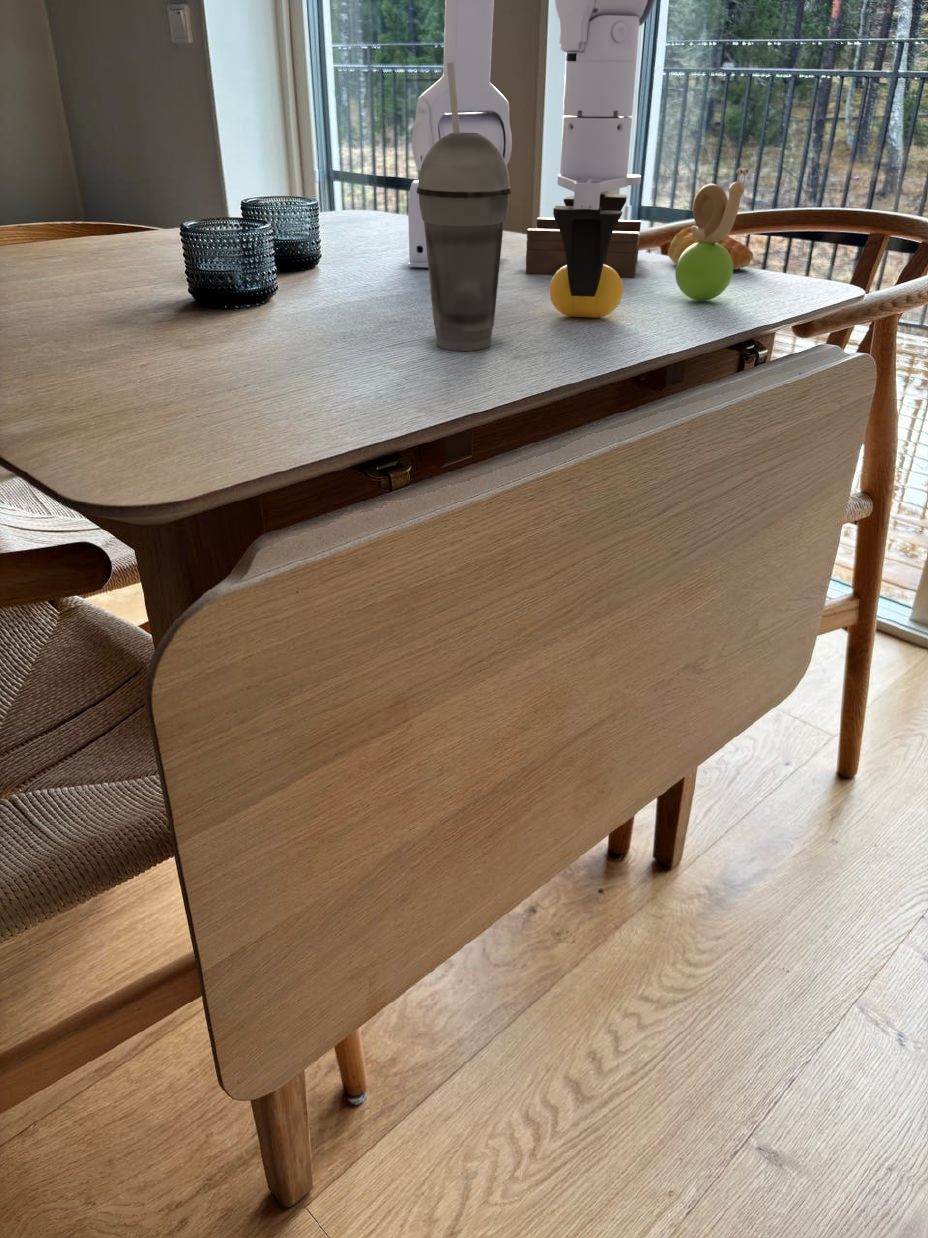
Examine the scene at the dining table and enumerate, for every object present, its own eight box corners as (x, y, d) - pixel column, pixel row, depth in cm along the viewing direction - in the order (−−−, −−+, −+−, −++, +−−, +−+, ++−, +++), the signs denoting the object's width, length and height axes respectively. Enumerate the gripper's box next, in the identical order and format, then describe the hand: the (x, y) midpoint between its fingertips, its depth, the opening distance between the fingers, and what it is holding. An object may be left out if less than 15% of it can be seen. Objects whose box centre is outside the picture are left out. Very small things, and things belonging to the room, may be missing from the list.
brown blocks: (525, 273, 105) (527, 229, 103) (536, 257, 113) (537, 217, 111) (634, 277, 103) (638, 233, 101) (637, 261, 111) (641, 220, 109)
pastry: (762, 267, 108) (768, 232, 106) (731, 276, 104) (736, 239, 102) (692, 257, 114) (696, 223, 112) (660, 265, 110) (663, 229, 108)
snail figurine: (703, 310, 89) (721, 169, 83) (661, 297, 94) (675, 163, 88) (747, 304, 91) (768, 167, 85) (703, 292, 96) (720, 161, 90)
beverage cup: (478, 359, 73) (481, 61, 63) (402, 347, 77) (393, 61, 67) (523, 340, 79) (533, 62, 69) (450, 329, 82) (449, 62, 72)
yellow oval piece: (545, 320, 85) (548, 266, 83) (551, 309, 89) (553, 257, 87) (619, 323, 84) (623, 269, 82) (621, 312, 88) (626, 260, 86)
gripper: (644, 120, 72) (628, 305, 78) (647, 113, 84) (633, 273, 91) (551, 119, 73) (543, 302, 80) (568, 113, 85) (560, 271, 92)
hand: (586, 287), depth 85 cm, fingers open, 7 cm apart
